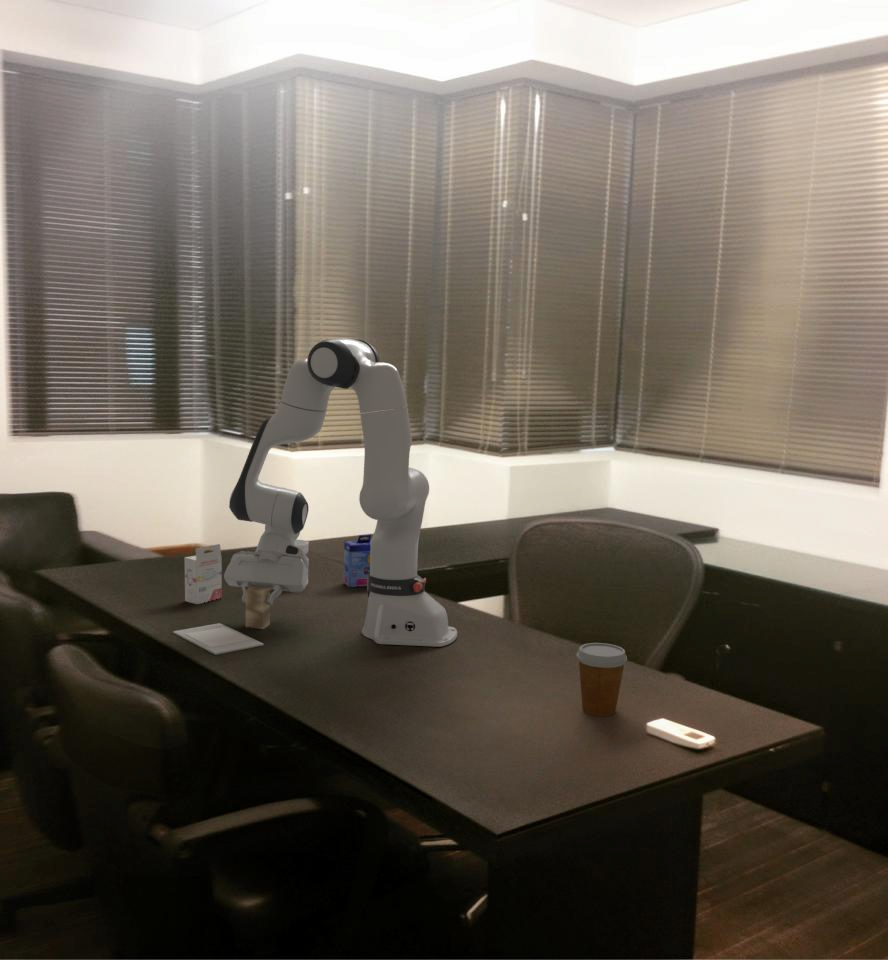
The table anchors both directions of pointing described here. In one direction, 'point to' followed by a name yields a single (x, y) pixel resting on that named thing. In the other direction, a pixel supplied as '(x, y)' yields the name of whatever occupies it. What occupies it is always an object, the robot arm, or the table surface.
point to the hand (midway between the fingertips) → (256, 602)
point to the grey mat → (218, 638)
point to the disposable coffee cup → (600, 677)
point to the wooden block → (257, 608)
